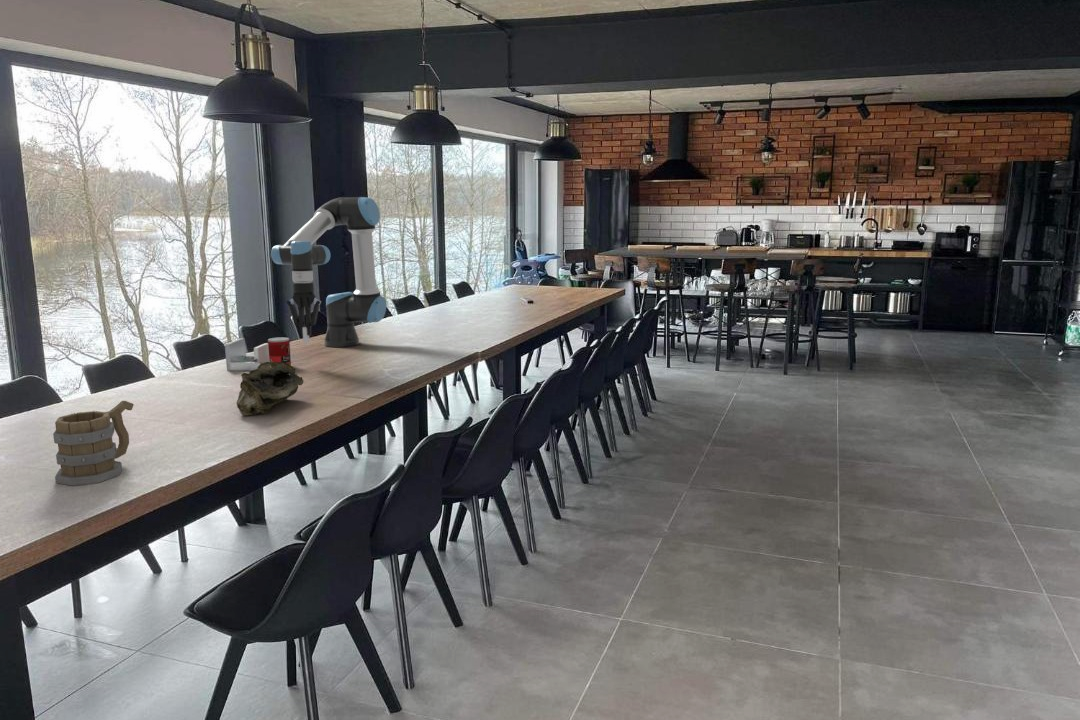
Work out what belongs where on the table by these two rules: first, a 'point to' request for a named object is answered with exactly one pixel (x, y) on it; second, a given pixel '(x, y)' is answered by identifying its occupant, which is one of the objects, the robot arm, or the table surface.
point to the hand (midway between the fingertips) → (306, 343)
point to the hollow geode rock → (266, 387)
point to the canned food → (279, 350)
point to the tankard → (90, 445)
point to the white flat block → (261, 353)
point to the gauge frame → (239, 356)
